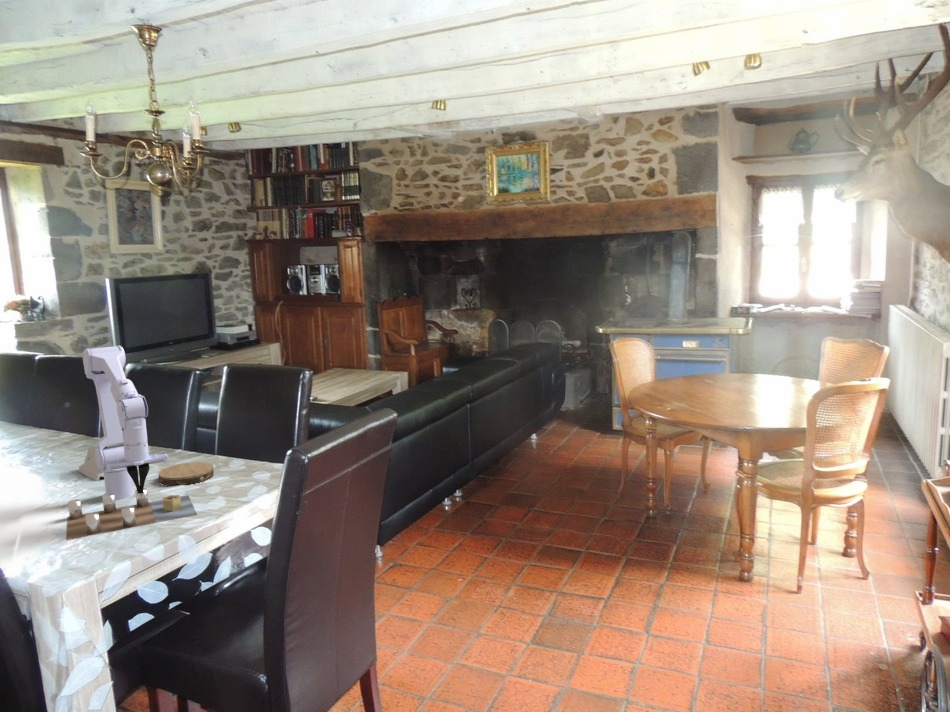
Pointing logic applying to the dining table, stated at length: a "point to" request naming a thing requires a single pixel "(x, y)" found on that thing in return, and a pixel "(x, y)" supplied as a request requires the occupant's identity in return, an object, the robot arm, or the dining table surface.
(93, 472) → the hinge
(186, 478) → the brown flat round disc
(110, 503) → the steel spacers
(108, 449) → the robot arm
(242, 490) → the dining table surface
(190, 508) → the spacer board
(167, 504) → the brass nut
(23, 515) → the dining table surface
